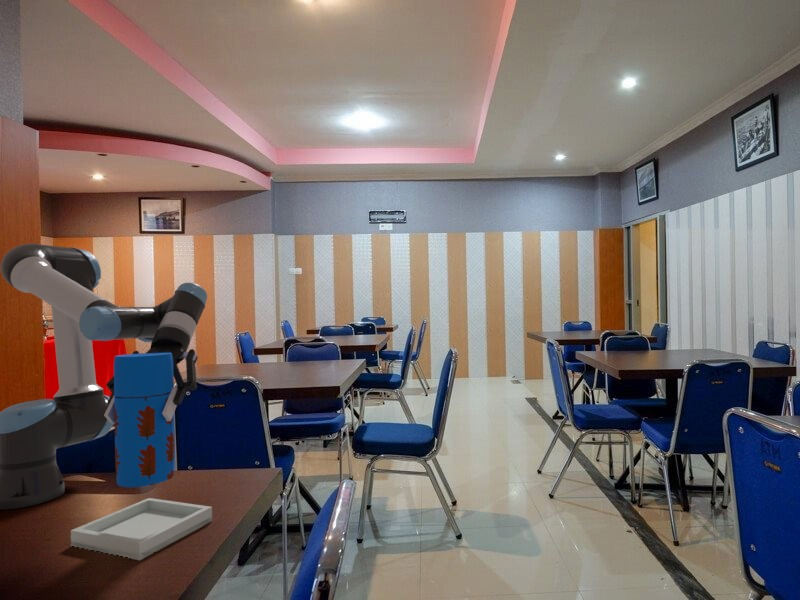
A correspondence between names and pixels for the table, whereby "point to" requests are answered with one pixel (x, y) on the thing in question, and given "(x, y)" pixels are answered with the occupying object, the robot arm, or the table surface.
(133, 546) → the tray
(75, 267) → the robot arm
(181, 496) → the table surface
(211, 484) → the table surface
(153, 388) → the thermos
